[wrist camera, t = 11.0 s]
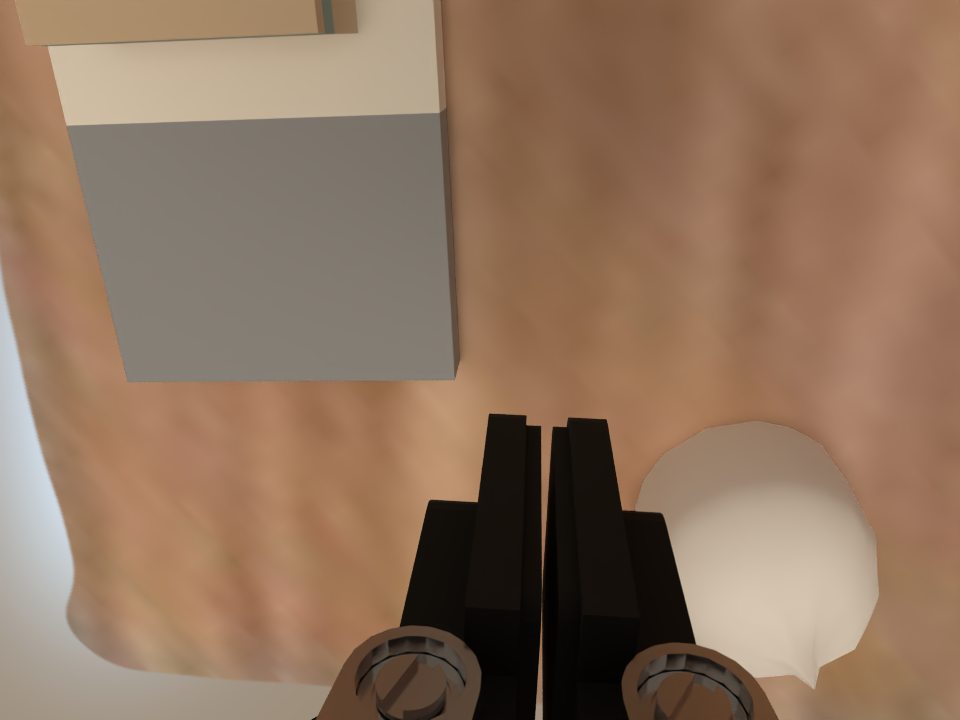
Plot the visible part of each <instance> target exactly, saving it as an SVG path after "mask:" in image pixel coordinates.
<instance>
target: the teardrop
mask: <svg viewBox="0 0 960 720" xmlns="http://www.w3.org/2000/svg"><path fill="white" fill-rule="evenodd" d="M635 510H636V511H642V512H660V513H662V514H663V516H664V519H665V521H666V525H667V529H668V533H669V537H670V541H671V545H672V549H673V553H674V557H675V561H676V565H677V569H678V573H679V577H680V581H681V585H682V589H683V593H684V597H685V601H686V605H687V609H688V613H689V617H690V621H691V625H692V629H693V633H694V637H695V641H696V645H699V646H702V647H706V648H709V649H712V650H716V651H717V652H719V653H721V654H723V655H725V656H727V657H729V658H731V659H732V660H734V661H736V662H737V663H738V664H739V665H741V666H742V667H743V668H744V669H745V670H747V671H748V672H749V673H750V674H751V675H752V676H753V677H754V678H756V677H771V676H781V675H795V676H797V677H798V678H799V679H801V680H802V681H803V682H805V683H806V684H808V685H809V686H810V687H812V688H813V689H814V690H815V686H816V681H817V677H818V672H819V668H820V667H821V666H823V665H825V664H827V663H829V662H831V661H833V660H835V659H837V658H839V657H841V656H843V655H845V654H847V653H849V652H851V651H853V650H855V648H856V646H857V644H858V642H859V640H860V638H861V637H862V635H863V633H864V631H865V629H866V626H867V624H868V622H869V620H870V618H871V615H872V613H873V610H874V608H875V605H876V603H877V600H878V597H879V590H878V572H877V547H876V535H875V533H874V531H873V529H872V527H871V525H870V524H869V522H868V520H867V518H866V516H865V514H864V512H863V510H862V509H861V507H860V505H859V503H858V501H857V499H856V497H855V496H854V494H853V492H852V490H851V488H850V486H849V484H848V483H847V481H846V479H845V477H844V476H843V475H842V473H841V472H840V470H839V469H838V468H837V466H836V465H835V463H834V462H833V461H832V459H831V458H830V456H829V455H828V454H827V452H826V451H825V449H824V448H823V446H822V445H821V444H820V443H819V442H817V441H815V440H813V439H811V438H810V437H808V436H806V435H804V434H802V433H801V432H799V431H797V430H795V429H793V428H792V427H787V426H782V425H777V424H771V423H766V422H761V421H752V422H745V423H738V424H732V425H725V426H718V427H711V428H705V429H704V430H702V431H701V432H699V433H697V434H696V435H694V436H692V437H691V438H689V439H687V440H686V441H684V442H682V443H681V444H679V445H677V446H676V447H674V448H673V449H671V450H669V451H668V452H666V453H664V454H663V455H662V456H661V458H660V459H659V460H658V462H657V463H656V464H655V465H654V467H653V468H652V469H651V471H650V472H649V473H648V475H647V476H646V477H645V479H644V481H643V484H642V487H641V490H640V493H639V496H638V500H637V503H636V506H635Z"/></svg>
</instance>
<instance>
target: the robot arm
mask: <svg viewBox="0 0 960 720" xmlns="http://www.w3.org/2000/svg"><path fill="white" fill-rule="evenodd" d="M541 609H542V669H543V720H779V719H778V717H777V715H776V713H775V711H774V709H773V708H772V706H771V704H770V702H769V700H768V698H767V696H766V694H765V692H764V691H763V690H762V688H761V687H760V685H759V684H758V683H757V681H756V680H755V678H754V677H753V676H752V675H751V674H750V673H749V672H748V671H747V670H745V669H744V668H743V667H742V666H741V665H739V664H738V663H737V662H736V661H734V660H732V659H731V658H729V657H727V656H725V655H723V654H721V653H719V652H717V651H716V650H712V649H709V648H706V647H702V646H699V645H696V641H695V637H694V633H693V629H692V625H691V621H690V617H689V613H688V609H687V605H686V601H685V597H684V593H683V589H682V585H681V581H680V577H679V573H678V569H677V565H676V561H675V557H674V553H673V549H672V545H671V541H670V537H669V533H668V529H667V525H666V521H665V519H664V516H663V514H662V513H660V512H642V511H624V510H622V507H621V501H620V495H619V489H618V483H617V477H616V471H615V465H614V459H613V453H612V447H611V441H610V435H609V429H608V423H607V420H606V419H588V418H568V421H567V427H553V431H552V444H551V460H550V475H549V491H548V506H547V522H546V537H545V553H544V569H543V588H542V524H541V426H529V425H526V415H506V414H489V418H488V426H487V434H486V442H485V450H484V458H483V466H482V474H481V482H480V489H479V497H478V502H462V501H444V500H430V501H429V503H428V506H427V510H426V514H425V518H424V523H423V527H422V531H421V536H420V540H419V545H418V549H417V553H416V558H415V562H414V566H413V571H412V575H411V579H410V584H409V588H408V593H407V597H406V601H405V606H404V610H403V614H402V619H401V623H400V627H398V628H392V629H388V630H386V631H383V632H381V633H379V634H376V635H374V636H372V637H370V638H369V639H367V640H366V641H365V642H363V643H362V644H361V645H359V646H358V647H357V648H355V649H354V651H353V652H352V654H351V655H350V656H349V658H348V659H347V660H346V662H345V663H344V665H343V667H342V669H341V671H340V673H339V675H338V677H337V679H336V681H335V683H334V685H333V687H332V689H331V691H330V693H329V695H328V697H327V699H326V701H325V703H324V705H323V707H322V709H321V710H320V712H319V714H318V716H317V717H315V718H313V719H312V720H535V710H536V695H537V680H538V665H539V649H540V633H541Z"/></svg>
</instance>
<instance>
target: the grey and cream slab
mask: <svg viewBox="0 0 960 720" xmlns="http://www.w3.org/2000/svg"><path fill="white" fill-rule="evenodd" d="M355 5H356V15H357V26H358V33H354V34H331V35H309V36H286V37H263V38H240V39H218V40H195V41H172V42H149V43H127V44H91V45H67V46H48V49H49V54H50V58H51V62H52V66H53V70H54V75H55V79H56V83H57V87H58V91H59V96H60V100H61V104H62V108H63V113H64V117H65V121H66V125H67V129H68V134H69V138H70V142H71V146H72V150H73V155H74V159H75V163H76V167H77V171H78V176H79V180H80V184H81V188H82V192H83V197H84V201H85V205H86V209H87V213H88V218H89V222H90V226H91V230H92V234H93V239H94V243H95V247H96V251H97V255H98V260H99V264H100V268H101V272H102V276H103V281H104V285H105V289H106V293H107V297H108V302H109V306H110V310H111V314H112V318H113V323H114V327H115V331H116V335H117V339H118V344H119V348H120V352H121V356H122V360H123V365H124V369H125V373H126V377H127V381H128V382H237V381H403V380H455V377H456V373H457V369H458V365H459V361H460V353H459V334H458V315H457V297H456V278H455V259H454V240H453V221H452V202H451V183H450V165H449V146H448V127H447V108H446V89H445V70H444V52H443V33H442V14H441V0H355Z"/></svg>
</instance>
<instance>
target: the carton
mask: <svg viewBox="0 0 960 720" xmlns="http://www.w3.org/2000/svg"><path fill="white" fill-rule="evenodd" d="M14 1H15V5H16V9H17V13H18V17H19V21H20V25H21V29H22V33H23V37H24V41H25V45H26V46H67V45H91V44H127V43H149V42H172V41H195V40H218V39H240V38H263V37H286V36H309V35H331V34H354V33H358V26H357V15H356V5H355V0H14Z"/></svg>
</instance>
